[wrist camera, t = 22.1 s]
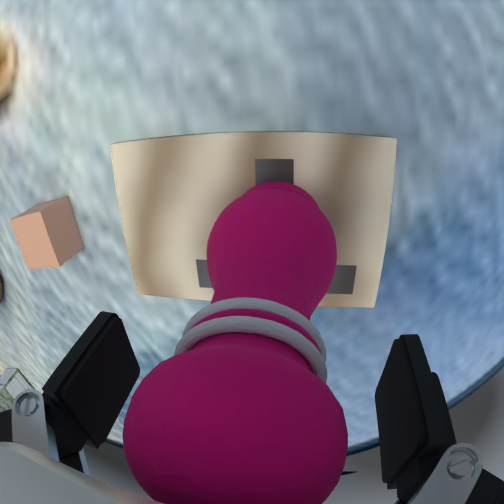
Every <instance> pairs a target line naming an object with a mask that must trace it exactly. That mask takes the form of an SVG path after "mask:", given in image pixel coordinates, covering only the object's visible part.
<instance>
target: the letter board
mask: <svg viewBox="0 0 504 504" xmlns="http://www.w3.org/2000/svg"><path fill="white" fill-rule="evenodd" d="M396 146H397V139H396V138H391V137H382V136H371V135H359V134H345V133H327V132H295V131H258V132H226V133H207V134H193V135H181V136H170V137H160V138H151V139H143V140H135V141H127V142H120V143H115V144H111V145H110V148H111V157H112V165H113V172H114V179H115V186H116V192H117V198H118V204H119V210H120V215H121V221H122V226H123V231H124V236H125V241H126V246H127V251H128V255H129V260H130V264H131V268H132V273H133V277H134V281H135V285H136V289H137V293H138V294H142V295H152V296H162V297H173V298H184V299H196V300H209V301H212V298H213V294H214V290H213V287H212V284H211V281H210V278H209V274H208V270H207V253H206V252H207V242H208V239H209V235H210V232H211V230H212V228H213V225H214V223H215V222H216V220H217V218H218V216H219V215H220V213H221V212H222V211H223V210H224V209H225V208H226V207H227V206H228V205H229V204H230V203H232V202H233V201H234V200H235V199H237V198H239V197H241V196H242V195H243V194H244V193H246V192H247V191H248V190H249V189H251V188H253V187H254V186H256V185H259V184H262V183H264V182H271V181H282V182H287V183H291V184H294V185H296V186H298V187H300V188H302V189H303V190H305V191H306V192H307V193H309V194H310V195H311V196H312V198H313V199H314V200H315V201H316V203H317V205H318V206H319V208H320V210H321V211H322V212H323V214H324V215H325V216H326V218H327V219H328V221H329V223H330V225H331V227H332V229H333V232H334V235H335V238H336V246H337V262H336V269H335V273H334V276H333V279H332V281H331V284H330V287H329V289H328V291H327V293H326V295H325V296H324V297H323V299H322V300H321V302H320V303H319V304H318V306H321V307H366V308H374V306H375V302H376V297H377V292H378V287H379V282H380V277H381V271H382V266H383V260H384V254H385V248H386V242H387V235H388V228H389V221H390V213H391V205H392V195H393V186H394V174H395V162H396Z"/></svg>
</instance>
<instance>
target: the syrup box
mask: <svg viewBox="0 0 504 504" xmlns="http://www.w3.org/2000/svg"><path fill="white" fill-rule="evenodd" d="M27 389H34V388H33V387H32V386H31V385H30V383H29V382H28V381H27V380H26V379H25V377H24V376H23V375H22V374H21V373H20V371H19V370H18V369H16V368H8V369H6V370H5V372H4V373H3V374H2V376H1V377H0V412H2V411H6V410H9V409H12V403H13V401H14V399H15V398H16V396H17V395H18V394H19V393H21V392H22V391H24V390H27Z"/></svg>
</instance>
